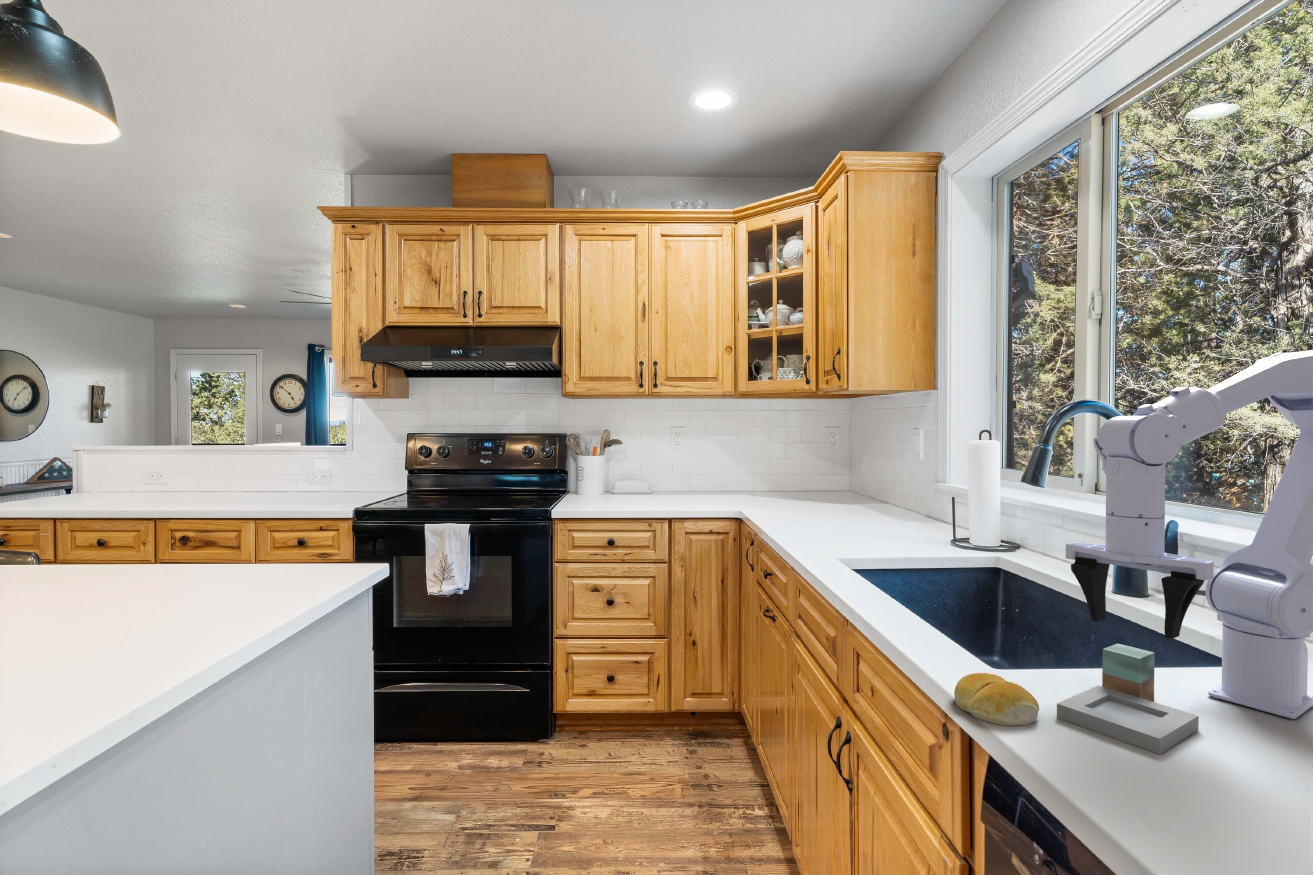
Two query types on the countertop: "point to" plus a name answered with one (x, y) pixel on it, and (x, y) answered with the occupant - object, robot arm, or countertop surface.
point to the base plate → (1128, 718)
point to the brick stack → (1129, 671)
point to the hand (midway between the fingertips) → (1133, 627)
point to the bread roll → (995, 700)
